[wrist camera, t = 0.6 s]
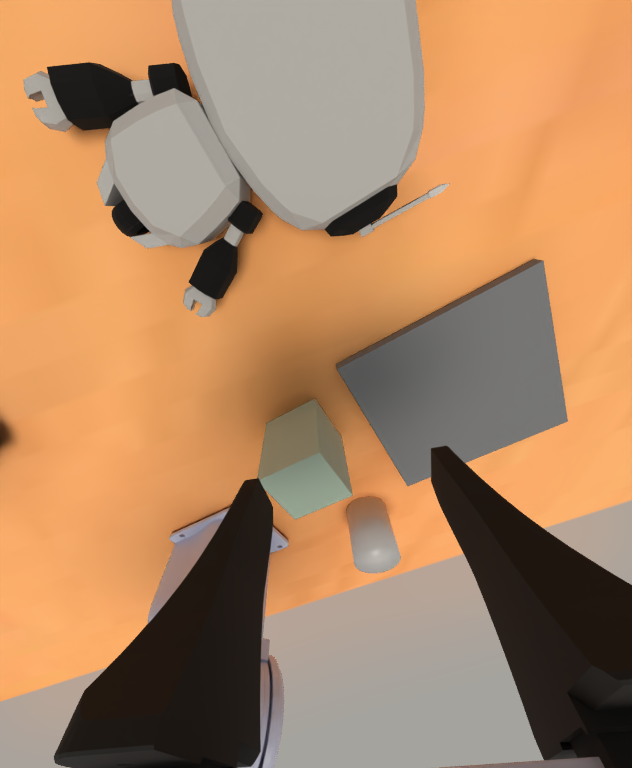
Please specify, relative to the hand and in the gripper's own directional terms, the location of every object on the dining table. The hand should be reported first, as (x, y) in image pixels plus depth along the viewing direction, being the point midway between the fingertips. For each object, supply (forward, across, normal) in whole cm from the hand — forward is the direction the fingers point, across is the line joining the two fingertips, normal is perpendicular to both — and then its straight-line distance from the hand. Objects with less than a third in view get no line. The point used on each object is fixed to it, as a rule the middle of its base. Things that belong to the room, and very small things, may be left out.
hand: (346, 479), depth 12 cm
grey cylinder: (+10, 0, +17) cm, 19 cm away
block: (+10, +3, +5) cm, 12 cm away
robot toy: (+11, +2, -13) cm, 17 cm away
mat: (+10, -9, +5) cm, 15 cm away
